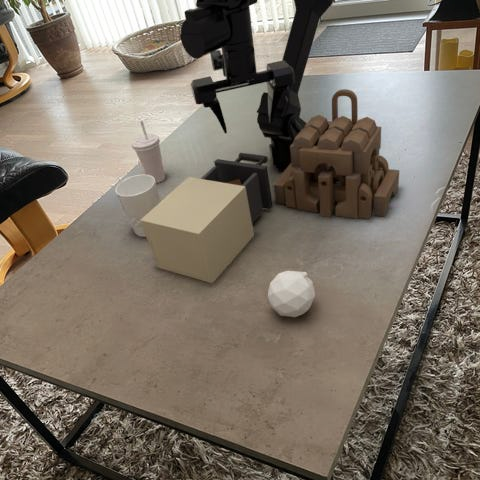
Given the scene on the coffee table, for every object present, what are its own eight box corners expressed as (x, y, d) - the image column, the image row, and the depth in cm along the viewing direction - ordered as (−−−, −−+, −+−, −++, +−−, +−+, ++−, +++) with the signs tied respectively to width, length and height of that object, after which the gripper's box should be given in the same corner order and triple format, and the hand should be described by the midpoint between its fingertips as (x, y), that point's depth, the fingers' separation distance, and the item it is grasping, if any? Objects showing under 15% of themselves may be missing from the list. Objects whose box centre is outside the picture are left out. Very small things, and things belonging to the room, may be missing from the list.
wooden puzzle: (271, 209, 98) (258, 118, 85) (299, 172, 106) (291, 84, 93) (380, 224, 88) (384, 124, 75) (401, 182, 97) (408, 85, 84)
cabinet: (201, 223, 98) (188, 176, 91) (254, 235, 93) (245, 186, 85) (157, 267, 91) (139, 220, 83) (212, 283, 85) (198, 233, 77)
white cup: (139, 244, 97) (122, 201, 90) (127, 226, 102) (110, 184, 95) (174, 228, 99) (160, 185, 92) (161, 212, 104) (147, 169, 97)
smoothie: (165, 185, 112) (147, 126, 102) (140, 186, 114) (120, 129, 104) (173, 171, 116) (157, 113, 106) (149, 172, 118) (130, 115, 108)
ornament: (274, 291, 80) (300, 254, 76) (306, 321, 78) (334, 284, 74) (250, 299, 75) (276, 259, 71) (283, 332, 73) (312, 293, 68)
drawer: (237, 185, 105) (229, 147, 99) (283, 193, 99) (279, 153, 93) (188, 234, 95) (177, 194, 89) (237, 245, 90) (229, 204, 83)
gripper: (276, 19, 92) (283, 103, 102) (180, 40, 91) (196, 123, 101) (292, 32, 83) (298, 123, 94) (186, 55, 83) (204, 144, 93)
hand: (248, 127), depth 96 cm, fingers open, 9 cm apart
